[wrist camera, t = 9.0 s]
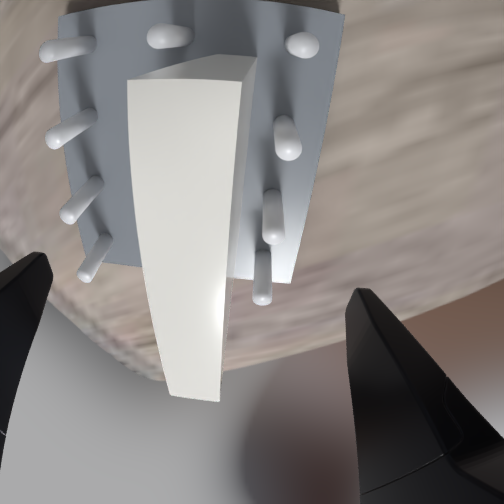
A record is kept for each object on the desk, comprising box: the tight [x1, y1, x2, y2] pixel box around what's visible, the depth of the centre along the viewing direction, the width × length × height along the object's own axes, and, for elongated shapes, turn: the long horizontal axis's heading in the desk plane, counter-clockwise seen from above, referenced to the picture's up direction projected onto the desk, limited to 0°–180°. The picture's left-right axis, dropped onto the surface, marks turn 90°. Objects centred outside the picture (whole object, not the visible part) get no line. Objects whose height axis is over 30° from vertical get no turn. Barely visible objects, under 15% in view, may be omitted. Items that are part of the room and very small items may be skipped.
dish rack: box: [39, 0, 345, 305], centre depth 14 cm, size 14×16×4 cm
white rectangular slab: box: [127, 54, 257, 402], centre depth 11 cm, size 2×10×10 cm, turn 174°
